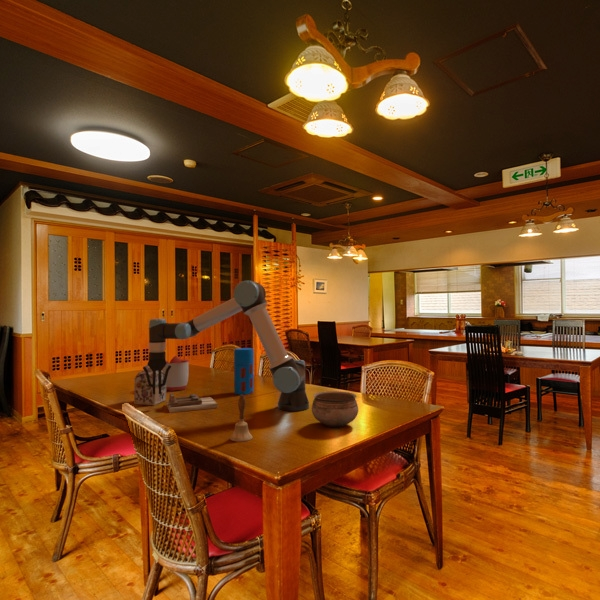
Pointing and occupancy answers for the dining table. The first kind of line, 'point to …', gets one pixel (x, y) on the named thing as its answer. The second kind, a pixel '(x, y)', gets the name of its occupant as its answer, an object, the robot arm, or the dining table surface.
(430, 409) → the dining table surface
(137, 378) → the decorative jar
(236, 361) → the thermos
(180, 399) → the walnut panel
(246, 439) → the hand bell
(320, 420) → the cooking pot
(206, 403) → the keyhole board
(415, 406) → the dining table surface
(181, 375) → the citrus juicer
